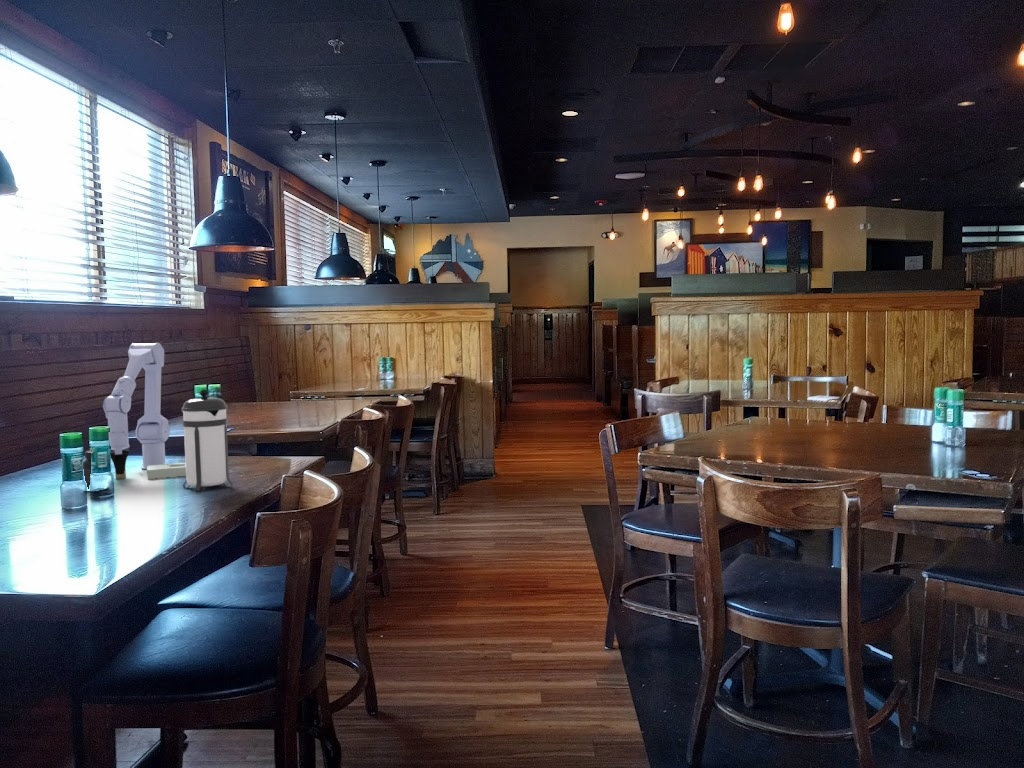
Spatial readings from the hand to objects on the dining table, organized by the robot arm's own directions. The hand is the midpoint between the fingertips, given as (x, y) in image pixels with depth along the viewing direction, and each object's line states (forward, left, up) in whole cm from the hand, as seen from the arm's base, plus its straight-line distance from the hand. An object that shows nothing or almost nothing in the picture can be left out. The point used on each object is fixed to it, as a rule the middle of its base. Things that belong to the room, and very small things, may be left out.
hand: (120, 473), depth 248 cm
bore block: (+2, +17, -2) cm, 17 cm away
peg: (0, 0, -2) cm, 2 cm away
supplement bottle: (+18, -6, -2) cm, 19 cm away
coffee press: (+31, +24, -2) cm, 39 cm away
